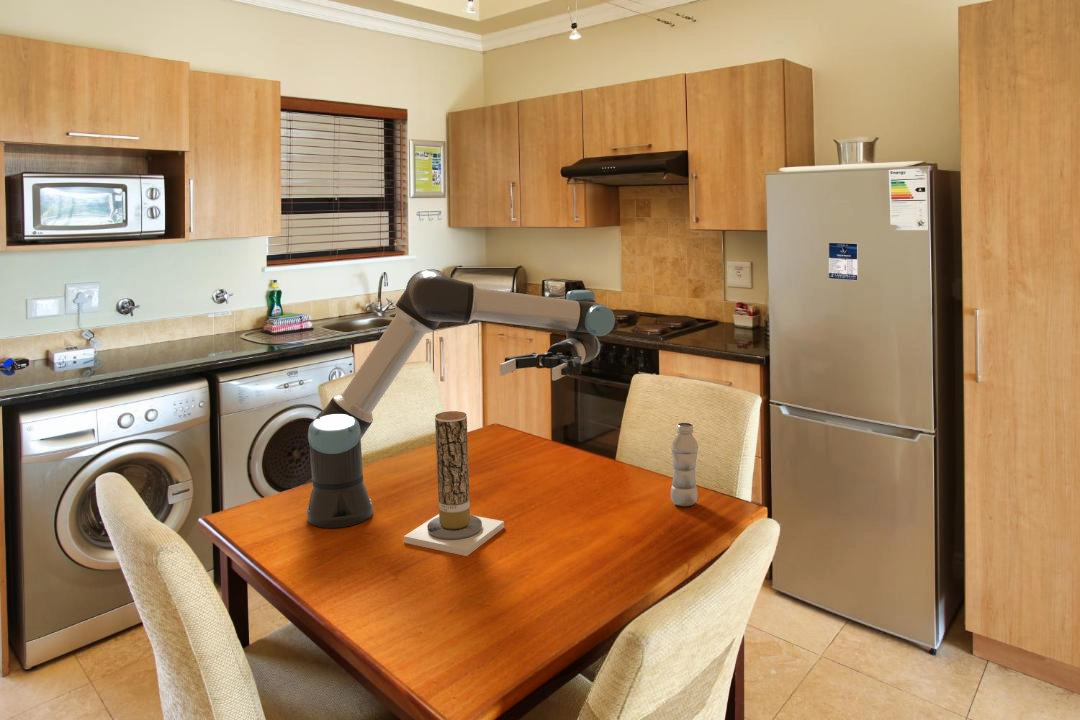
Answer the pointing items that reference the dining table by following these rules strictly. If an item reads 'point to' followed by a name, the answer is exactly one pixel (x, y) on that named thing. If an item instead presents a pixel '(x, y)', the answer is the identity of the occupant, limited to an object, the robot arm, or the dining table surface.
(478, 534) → the domed button base
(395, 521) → the dining table surface
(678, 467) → the plastic bottle
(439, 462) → the paper tube
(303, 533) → the dining table surface
